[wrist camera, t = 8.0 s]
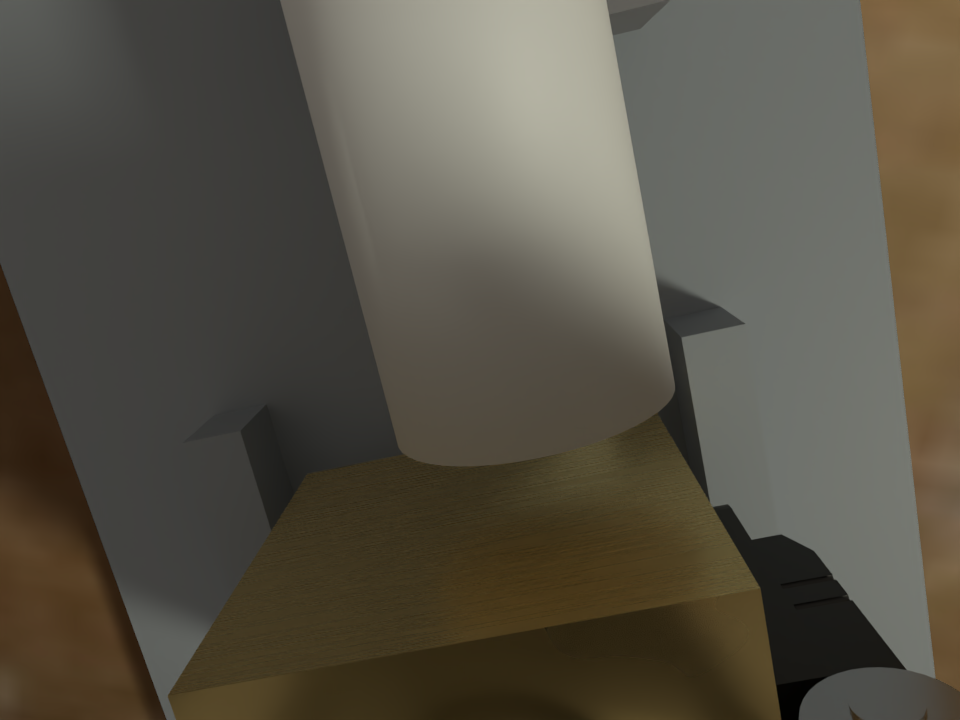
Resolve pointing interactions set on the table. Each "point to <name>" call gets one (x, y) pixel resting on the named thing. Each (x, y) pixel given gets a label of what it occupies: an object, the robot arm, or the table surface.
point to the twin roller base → (452, 266)
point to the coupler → (493, 598)
